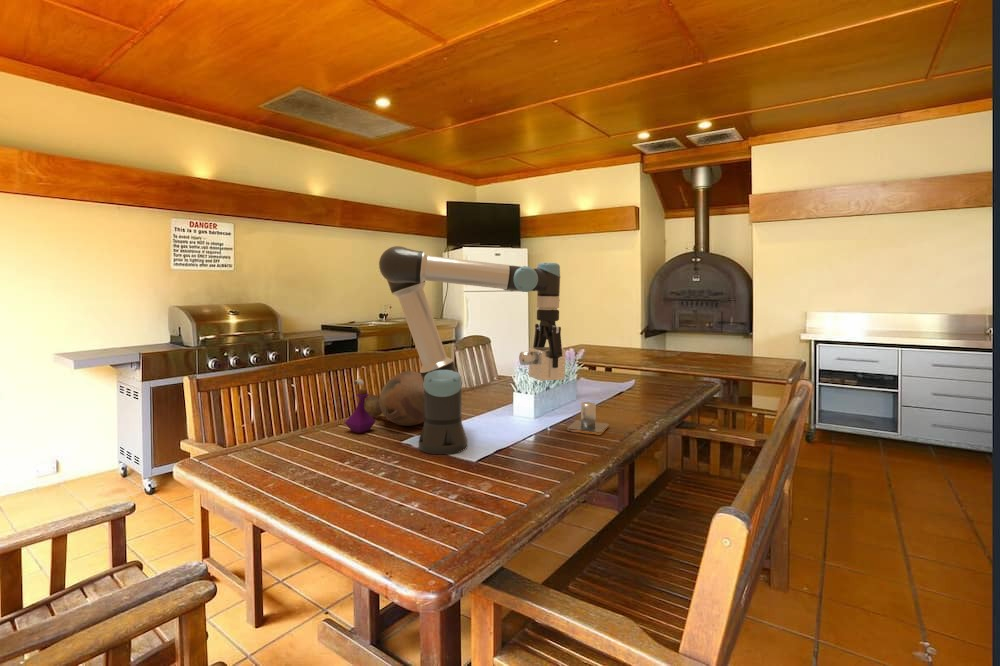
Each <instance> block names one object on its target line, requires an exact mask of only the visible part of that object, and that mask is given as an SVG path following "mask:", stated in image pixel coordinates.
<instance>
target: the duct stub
mask: <svg viewBox="0 0 1000 666" xmlns="http://www.w3.org/2000/svg"><path fill="white" fill-rule="evenodd" d="M580 404H581V405H580V406H581V409H580V412H581V413H580V420H578V419H576V420H574V422H573V423H571V424H570V425H569V426H567V427H566V430H567V429H569V430H581V431H589V432H597V433H601V432H602V431H603V430H604V429H605V428H606V427H607V426H608V425H609V426H610V424H609V423H604V422H597V421H596V417H597V414H596V413H597V411H596V410H597V409H596V408H597V404H596V403H595V402H592V401H591V402H590V401H589V402H588V401H585V402H584V401H583V402H581V403H580Z"/></svg>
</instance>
